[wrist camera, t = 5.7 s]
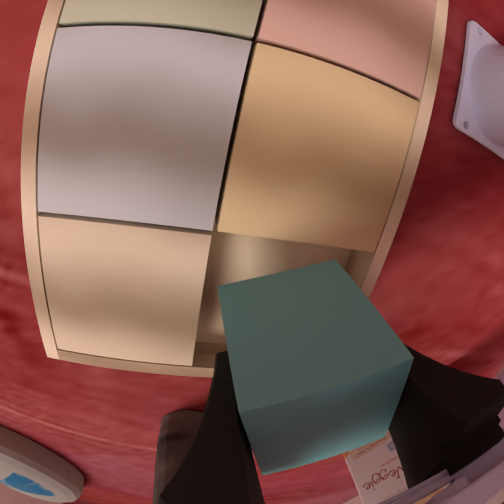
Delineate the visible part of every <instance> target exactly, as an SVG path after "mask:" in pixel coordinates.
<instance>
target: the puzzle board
mask: <svg viewBox="0 0 504 504" xmlns="http://www.w3.org/2000/svg"><path fill="white" fill-rule="evenodd" d="M447 13H448V0H48V3H47V6H46V9H45V12H44V15H43V19H42V22H41V26H40V30H39V33H38V37H37V41H36V46H35V50H34V55H33V59H32V64H31V70H30V75H29V81H28V87H27V94H26V102H25V110H24V120H23V132H22V149H21V203H22V220H23V233H24V243H25V251H26V259H27V266H28V273H29V279H30V285H31V291H32V296H33V301H34V306H35V311H36V315H37V319H38V324H39V328H40V332H41V336H42V340H43V343H44V347H45V350H46V354H47V357H50V358H55V359H60V360H65V361H70V362H75V363H81V364H87V365H93V366H99V367H106V368H113V369H120V370H128V371H137V372H146V373H156V374H167V375H179V376H195V377H213V373H214V367H215V355H216V354H217V353H219V352H224V351H228V350H227V344H226V338H225V332H224V326H223V320H222V314H221V308H220V301H219V295H218V288H217V286H219V285H224V284H229V283H233V282H238V281H242V280H247V279H252V278H256V277H261V276H265V275H270V274H274V273H278V272H283V271H287V270H292V269H296V268H300V267H305V266H309V265H313V264H317V263H322V262H326V261H330V260H334V259H336V260H337V262H338V263H339V264H340V265H341V266H342V268H343V269H344V270H345V271H346V272H347V274H348V275H349V276H350V277H351V278H352V280H353V281H354V282H355V283H356V284H357V286H358V287H359V288H360V289H361V291H362V292H363V293H364V294H365V296H366V297H367V298H368V299H369V297H370V295H371V293H372V291H373V288H374V286H375V284H376V281H377V279H378V277H379V274H380V272H381V269H382V267H383V264H384V262H385V260H386V257H387V254H388V252H389V249H390V247H391V244H392V242H393V239H394V236H395V233H396V231H397V228H398V225H399V222H400V220H401V217H402V214H403V211H404V208H405V205H406V202H407V199H408V196H409V193H410V190H411V187H412V184H413V180H414V177H415V174H416V170H417V167H418V163H419V160H420V156H421V153H422V149H423V145H424V142H425V138H426V134H427V130H428V126H429V122H430V117H431V113H432V108H433V104H434V99H435V94H436V89H437V84H438V79H439V73H440V67H441V61H442V55H443V48H444V40H445V32H446V23H447Z"/></svg>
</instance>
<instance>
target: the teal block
mask: <svg viewBox="0 0 504 504" xmlns="http://www.w3.org/2000/svg"><path fill="white" fill-rule="evenodd" d="M217 288H218V295H219V301H220V308H221V314H222V320H223V326H224V332H225V338H226V344H227V350H228V356H229V362H230V367H231V373H232V379H233V384H234V390H235V395H236V400H237V406H238V411H239V414H240V417H241V420H242V423H243V425H244V428H245V431H246V434H247V436H248V439H249V442H250V444H251V447H252V450H253V452H254V455H255V458H256V460H257V463H258V465H259V468H260V470H261V473H262V475H266V474H270V473H275V472H279V471H283V470H287V469H291V468H295V467H299V466H303V465H306V464H310V463H313V462H316V461H320V460H323V459H326V458H329V457H332V456H335V455H338V454H341V453H344V452H347V451H350V450H353V449H355V448H358V447H361V446H363V445H366V444H368V443H371V442H373V441H376V440H378V439H381V438H383V437H385V435H386V433H387V430H388V428H389V426H390V423H391V421H392V418H393V416H394V413H395V411H396V408H397V405H398V403H399V400H400V397H401V395H402V392H403V389H404V386H405V383H406V380H407V377H408V374H409V371H410V368H411V365H412V362H413V359H414V357H413V356H412V355H411V353H410V352H409V351H408V349H407V348H406V347H405V345H404V344H403V343H402V341H401V340H400V339H399V337H398V336H397V335H396V333H395V332H394V331H393V330H392V328H391V327H390V326H389V324H388V323H387V322H386V321H385V319H384V318H383V317H382V316H381V314H380V313H379V312H378V310H377V309H376V308H375V307H374V305H373V304H372V303H371V302H370V300H369V299H368V298H367V297H366V296H365V294H364V293H363V292H362V291H361V289H360V288H359V287H358V286H357V284H356V283H355V282H354V281H353V280H352V278H351V277H350V276H349V275H348V274H347V272H346V271H345V270H344V269H343V268H342V266H341V265H340V264H339V263H338V262H337V260H336V259H334V260H330V261H326V262H322V263H317V264H313V265H309V266H305V267H300V268H296V269H292V270H287V271H283V272H278V273H274V274H270V275H265V276H261V277H256V278H252V279H247V280H242V281H238V282H233V283H229V284H224V285H219V286H217Z"/></svg>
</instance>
